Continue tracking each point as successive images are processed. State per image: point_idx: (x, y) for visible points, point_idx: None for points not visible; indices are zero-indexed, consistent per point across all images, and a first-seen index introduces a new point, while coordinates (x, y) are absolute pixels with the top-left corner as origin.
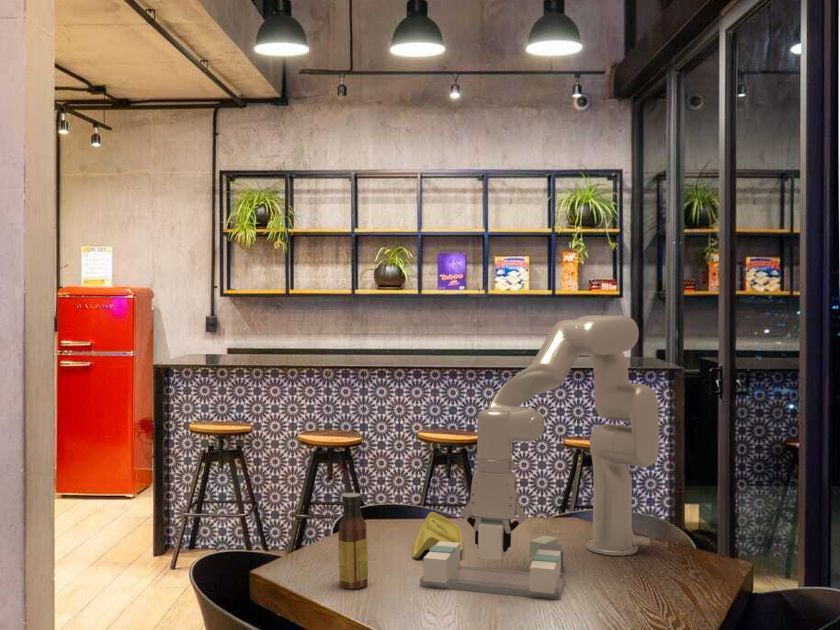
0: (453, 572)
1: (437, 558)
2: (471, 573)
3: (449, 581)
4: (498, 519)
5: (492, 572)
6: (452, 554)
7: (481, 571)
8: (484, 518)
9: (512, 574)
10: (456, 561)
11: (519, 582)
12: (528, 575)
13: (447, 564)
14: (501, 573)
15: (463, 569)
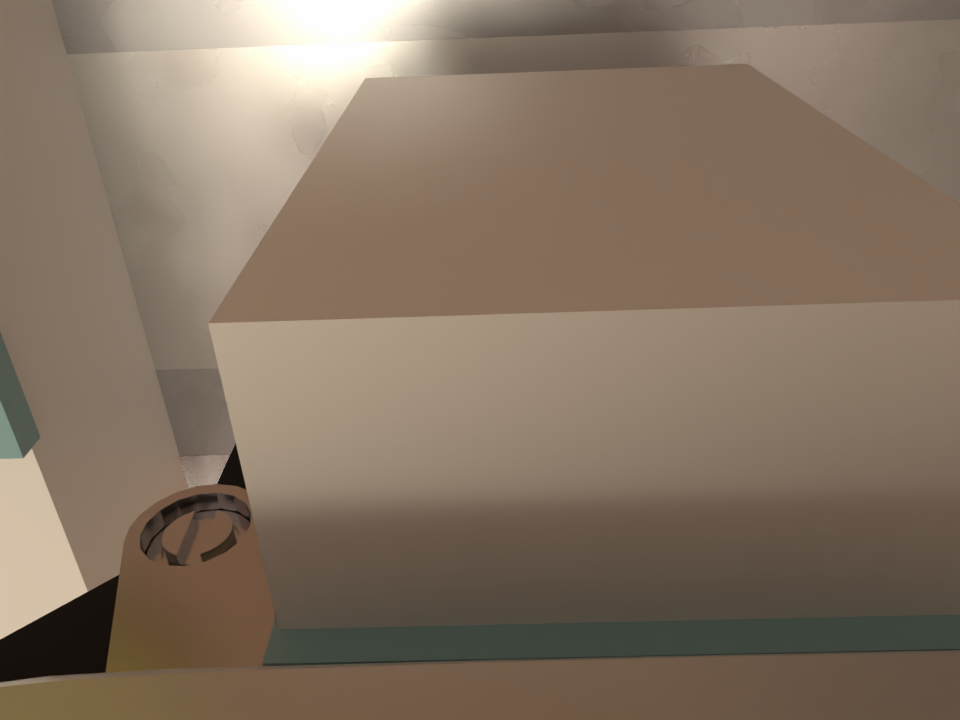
0: (109, 218)
1: (5, 634)
2: (289, 164)
3: (196, 446)
4: (741, 465)
5: (501, 44)
6: (24, 373)
7: (369, 53)
8: (245, 481)
9: (742, 41)
10: (24, 86)
11: None
12: (937, 20)
13: (118, 547)
14: (610, 49)
15: (146, 45)
